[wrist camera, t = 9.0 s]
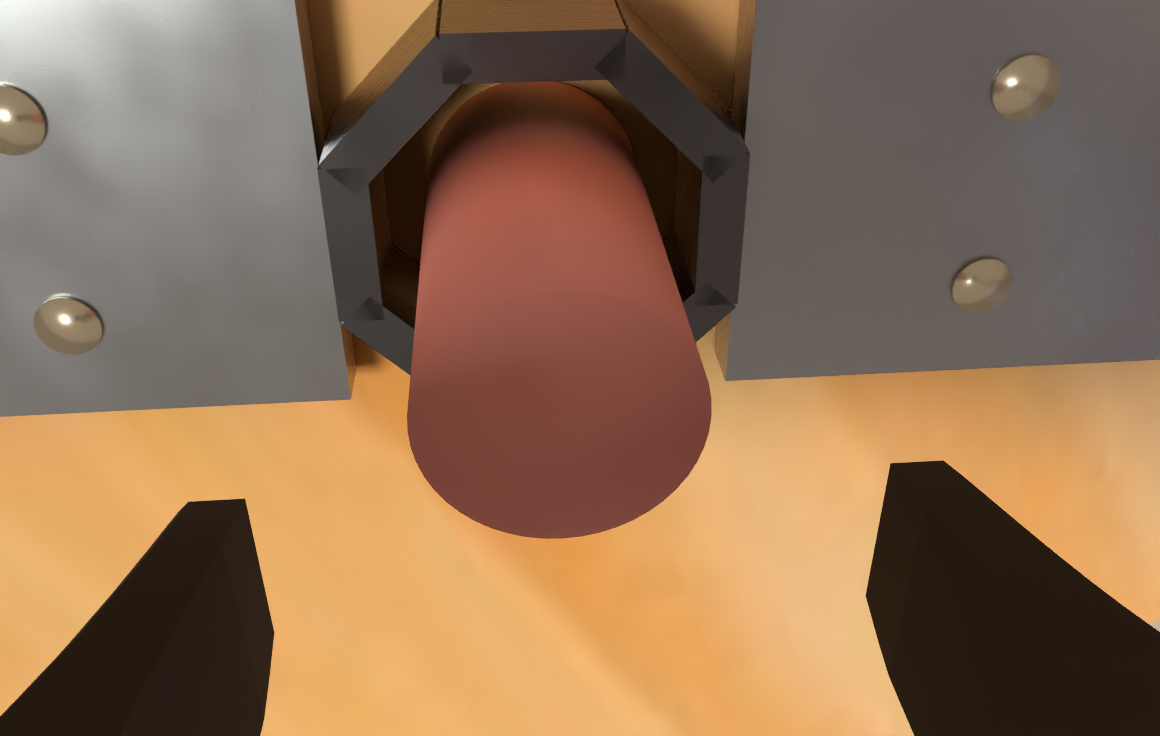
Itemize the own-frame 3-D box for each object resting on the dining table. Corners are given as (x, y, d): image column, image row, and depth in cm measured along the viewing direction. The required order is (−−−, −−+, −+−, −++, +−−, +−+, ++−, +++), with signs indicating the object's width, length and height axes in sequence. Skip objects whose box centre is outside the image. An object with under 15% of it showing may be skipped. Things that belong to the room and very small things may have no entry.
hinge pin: (634, 269, 22) (702, 530, 16) (436, 277, 22) (420, 546, 15) (638, 75, 20) (721, 282, 14) (419, 82, 20) (392, 296, 13)
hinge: (1162, 328, 24) (1228, 392, 22) (-140, 390, 22) (-203, 466, 20) (1288, -52, 20) (1383, -17, 18) (-316, -14, 18) (-418, 29, 16)
